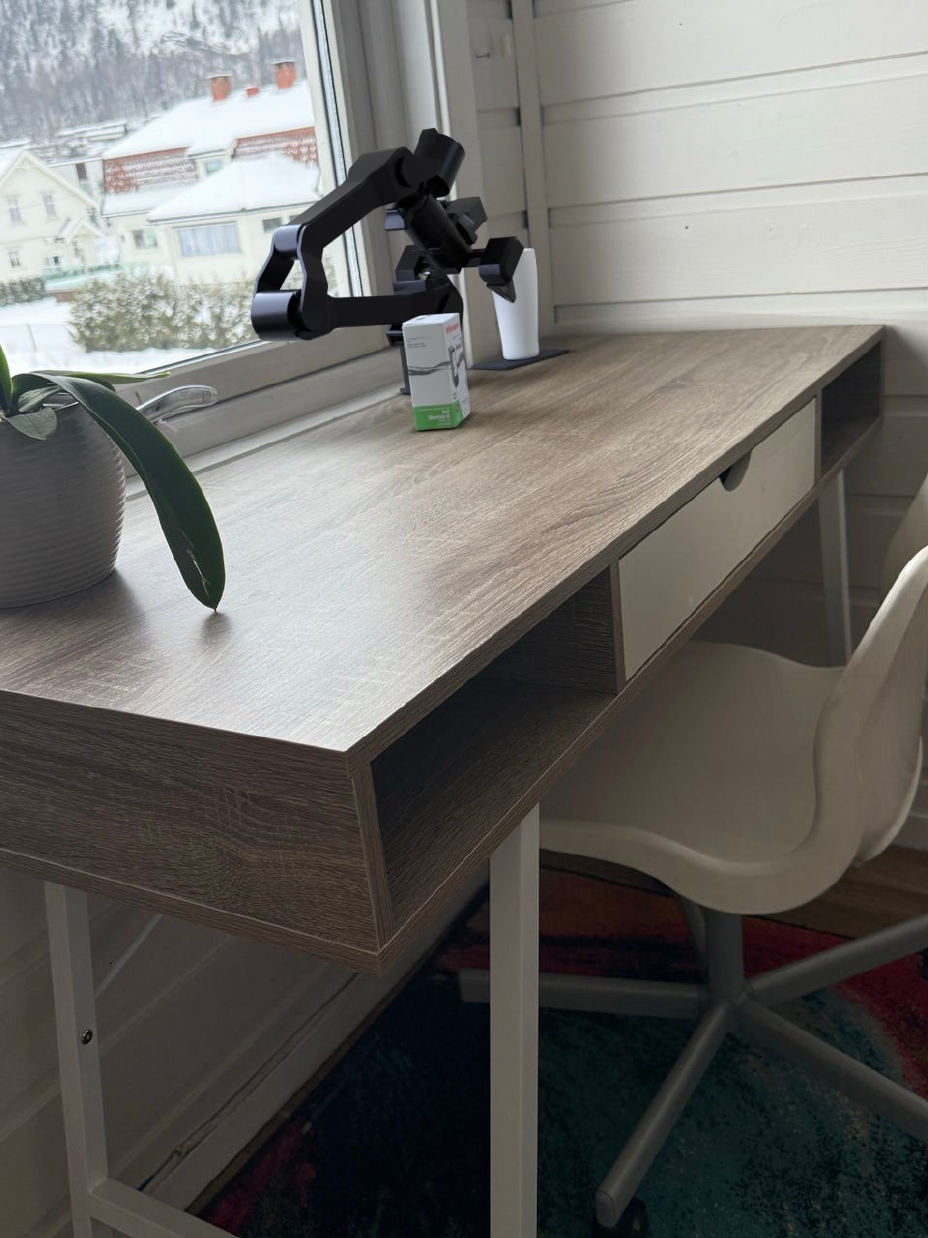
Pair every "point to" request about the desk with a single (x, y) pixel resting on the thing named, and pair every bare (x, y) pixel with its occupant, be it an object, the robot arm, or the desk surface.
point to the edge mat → (509, 364)
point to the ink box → (436, 370)
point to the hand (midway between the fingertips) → (487, 301)
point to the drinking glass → (520, 312)
